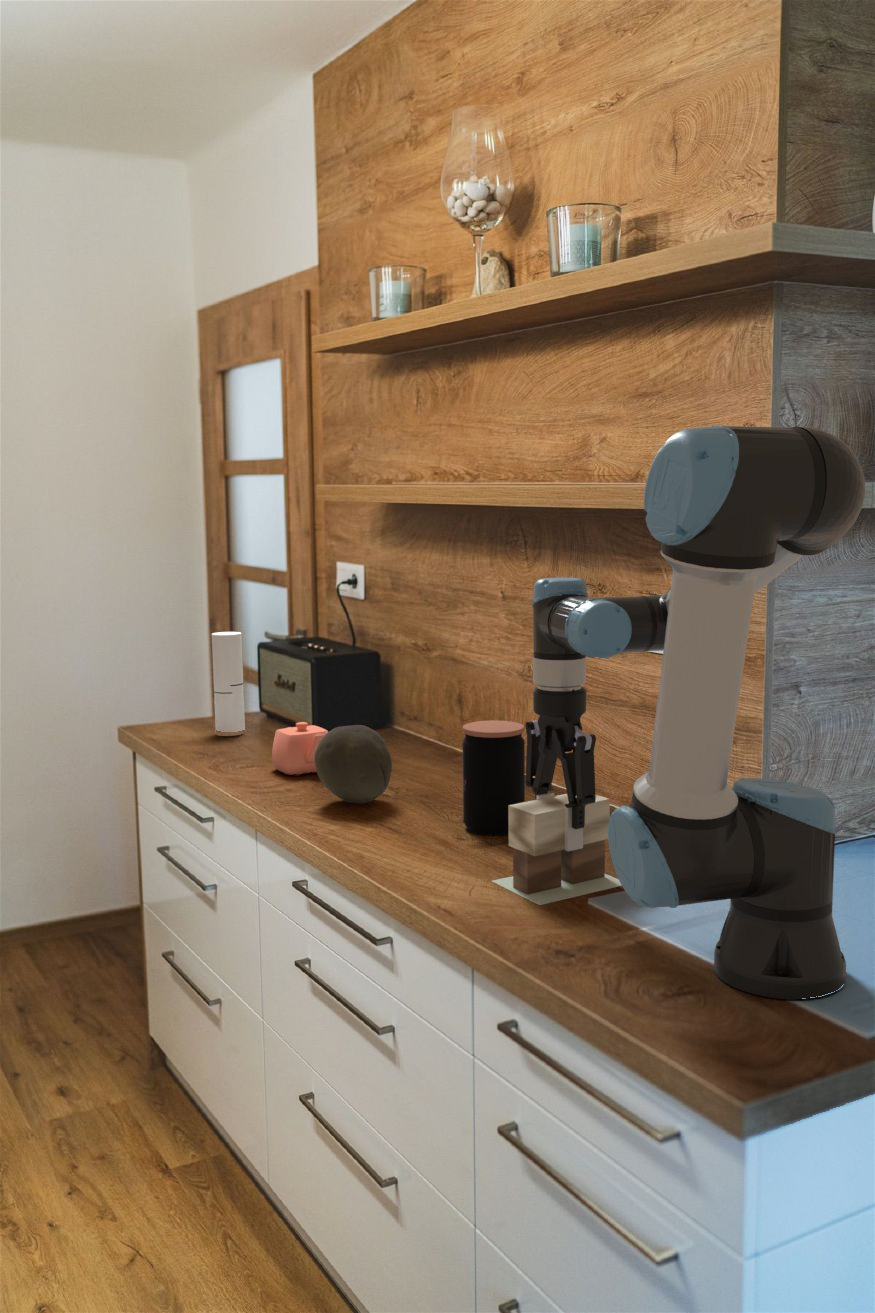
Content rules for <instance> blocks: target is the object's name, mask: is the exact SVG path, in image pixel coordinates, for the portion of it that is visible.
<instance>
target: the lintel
mask: <svg viewBox="0 0 875 1313" xmlns="http://www.w3.org/2000/svg"><path fill="white" fill-rule="evenodd" d="M576 798H577V795H576ZM610 801H611V800H610V798H608V797H605V796H602V795H598V794H596V801H595V803H591V804H587V805H586V806H585V825H584V828H583V845H585V844H589V843H593V842H597V841H602V840H605V841H606V840H608V824H609V819H610V816H611V814H610V812H611V811H610V808H611V807H610V804H611V802H610ZM568 803H569V801H568V796H567V793H564V794H557V795H554V796H553V797H548V798H543V799H538V800H535V799H534V800H528V801H525V802H523V803H518V804H513V805H508V823H509V834H508V847H511V848H512V849H513V848H515V849H518V850H520V851H523V852H525V853H528V854H530V855H533V856H538V855H542V854H547V853H551V852H555V851H559V850H564V849H565V804H568Z"/></svg>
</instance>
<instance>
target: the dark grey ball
mask: <svg viewBox="0 0 875 1313" xmlns="http://www.w3.org/2000/svg"><path fill="white" fill-rule="evenodd" d="M392 764H393V762H392V756H391V753H390V750H389V748H388V746H387V744H386V741H385V740H384V738H383V737H382V736H381V735H380V734H379V732H377V731H376V730H374V729H373V728H370V727H369V726H366V725H362V724H354V725H352V724H351V725H343V726H337V727H334V728H333V729H331V730H330V731H328V733H327V734H326V735H325V736H324V737H323V738H322V739H321V741H320V742H319V745H318V748H317V750H316V752H315V766H316V770H317V772H316V775H317V776H318V778H319V780H320V782H321V783H322V784H323V786H324V787H325V788H326V789H327V790H328V791H330V793H332V794H333V795H334V796H336V797H338V798H339V799H340V800H343V801H345V802H347V803H348V802H349V803H351V804H360V805H363V804H364V805H365V804H367V803H370V802H373V801H374V800H375V799H378V798H379V797H380V796H382V794H384V793H385V791H386V790H387V788H388V786H389V784H390V779H391V774H392V769H393V765H392Z"/></svg>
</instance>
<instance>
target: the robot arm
mask: <svg viewBox="0 0 875 1313" xmlns="http://www.w3.org/2000/svg"><path fill="white" fill-rule="evenodd" d="M863 471H864V470H863V467H862V464H861V463H860V461H859V459H858V457H857V455H856V454H855V452H854V451H853V450H852V449H851V448H850V446H849V445H847V444H846V443H845V442H844V440H841V439H840V438H839V437H838V436H836V435H835V434H833V433H830V432H827V431H826V430H822V429H819V428H815V427H810V426H793V427H785V426H784V427H780V426H779V427H777V426H736V425H734V426H733V425H718V424H714V425H712V426H704V427H703V426H702V427H691V428H685V429H681V430H679V431H678V432H675V433H673V435H671V436H670V437H669V438H668V439H667V440H666V441H665V443H664V444H663V445H661V447H660V449H659V450H658V451H657V453H656V455H655V457H653V461H652V463H651V464H650V468H649V471H648V474H647V477H646V482H645V488H644V495H643V508H644V509H643V510H644V511H645V512H646V516H645V522H646V527H647V529H648V530H649V533H650V534H651V536H652V538H654V539H655V540H656V541H657V542H660V543H661V547H660V555H661V556H662V557H663V559H664V560H665V561H666V562H667V563H668V564H669V566H670V567H671V568H672V578H671V584H670V589H668V590H667V591H666V592H665V593H664V594H656V595H654V594H653V595H638V596H637V595H636V596H616V597H615V596H612V597H589V594H588V590H587V589H588V588H587V583H586V581H585V580H584V579H583V578H580V577H545V578H540V579H538V580H537V581H536V582H535V583H534V586H533V600H532V603H531V606H532V610H533V611H532V614H533V615H532V618H533V619H532V622H533V623H532V624H533V628H532V629H533V630H532V632H533V640H532V641H533V656H532V657H533V658H532V662H533V663H532V667H533V668H532V682H533V684H534V685H535V686H536V687H535V688H534V689H533V690H532V693H533V698H532V699H533V700H532V701H533V706H532V707H533V712H534V714H536V715H538V719H537V720H532V721H531V720H530V721H526V722H525V726H524V727H525V731H526V741H527V742H526V757H525V758H526V761H525V786H526V787H528V788H531V789H532V792H533V793H534V795H535V796H534V800H538V799H543V798H548V797H553V796H555V793H553V791H555V788H554V786H552V783H553V779H554V775H555V769H556V767H557V766H556V765H557V761H558V760H559V761H560V763H561V767H562V768H561V769H562V773H563V774H562V775H563V779H564V785H565V789H566V790H565V791H566V794H567V796H568V801H569V803H568V804H565V850H566V851H572V850H577V849H582V848H583V828H584V825H585V806H586V805H587V804H591V803H595V801H596V795H597V794H596V773H595V770H596V769H595V746H596V741H597V737H596V735H595V734H594V733H592V734H587V733H585V731H583V726H582V722H581V719H582V716H583V715H584V714H585V713H586V712H587V689H586V688H585V687H584V685H586V683H587V658H592V659H596V658H599V659H610V658H613V657H615V656H616V655H618V654H624V653H642V652H657V651H658V652H659V651H662V652H663V653H662V659H661V660H662V661H661V668H660V669H661V670H660V675H659V676H660V677H659V687H658V694H657V702H656V710H655V720H654V726H653V733H652V734H653V735H652V744H651V752H650V758H649V759H650V760H649V769H648V771H647V772H645V773H644V774H642V775H641V776H639V777H638V778H637V779H636V780H635V781H634V784H633V787H632V788H633V789H632V798H631V804H630V805H623V804H622V805H621V806H619V807H617V808H615V809H614V810H613V812H612V813H611V814H610V819H609V824H608V839H607V840H608V842H607V843H608V848H609V853H610V857H611V861H612V864H613V868H614V870H615V874H616V876H617V877H616V878H617V879H619V881H620V883H621V885H622V886H621V887H622V888H623V891H624V892H625V893H626V894H627V896H628V897H629V898H630V899H631V901H633V902H634V903H636V904H637V905H638V906H640V907H643V908H647V909H651V908H653V909H654V908H667V907H668V908H671V909H674V908H677V907H678V906H686V905H692V904H693V905H694V904H701V903H708V902H717V901H725V900H730V903H729V904H730V905H729V910H728V913H727V915H726V918H725V921H724V924H723V925H722V926H723V927H722V929H721V933H720V935H719V936H720V937H719V938H718V939H719V940H718V941H717V943H716V945H715V947H714V952H713V953H714V955H713V957H714V958H713V959H714V960H713V969H714V972H715V974H716V976H717V977H718V978H719V979H720V980H721V981H723V982H724V983H726V984H727V985H729V986H731V987H733V988H735V989H738V990H740V991H742V992H745V993H749V994H752V995H756V996H760V997H765V998H770V999H778V1000H790V1001H791V1000H795V999H802V998H810V997H816V996H817V997H818V996H822V995H825V994H828V993H831V992H834V991H836V990H838V989H839V988H840V987H841V986H842V985H843V984H844V983H845V984H846V982H845V980H846V977H847V961H846V959H845V956H844V953H843V952H842V951H841V946H840V941H839V938H838V934H837V929H836V926H835V925H836V924H835V922H834V918H833V904H834V903H833V902H834V901H833V900H834V899H833V898H834V875H835V873H834V872H835V871H834V870H835V851H836V850H835V848H836V847H835V846H836V845H835V844H836V835H837V834H838V830H837V822H836V807H835V803H834V801H833V799H832V798H831V797H830V796H828V794H827V793H824V792H823V791H821V790H818V789H816V788H814V787H810V786H806V785H803V784H798V783H794V782H790V781H789V782H788V781H785V780H778V779H770V778H758V777H756V778H755V777H746V778H745V777H743V778H739V779H737V780H735V781H734V783H733V786H732V787H731V786H730V785H729V784H728V779H729V778H728V777H729V770H730V763H731V758H732V751H733V750H732V749H733V743H734V742H733V741H734V738H735V737H734V735H735V728H736V723H737V722H736V721H737V715H738V708H739V701H740V694H741V686H742V680H743V674H744V669H745V668H744V666H745V659H746V653H747V646H748V640H749V638H748V637H749V633H750V625H751V620H752V611H753V606H754V599H755V594H757V593H758V592H760V590H762V589H763V588H765V587H766V586H767V585H769V584H770V583H771V582H772V581H773V580H774V579H776V578H777V577H778V576H780V575H781V574H783V572H785V571H786V570H787V569H789V568H790V567H791V566H792V565H794V564H795V563H796V562H798V561H799V560H800V559H802V557H814V556H817V555H820V554H821V553H824V552H825V551H826V550H828V549H829V548H831V547H832V546H833V545H834V544H835V543H837V542H838V541H840V539H841V538H843V537H844V536H845V535H846V534H847V532H849V531H850V529H851V528H852V526H854V524H856V523H855V522H856V521H857V519H858V518H859V515H860V513H861V512H862V509H863V506H864V502H865V496H866V478H865V475H864V472H863ZM576 795H577V798H576ZM846 981H847V980H846ZM795 1001H796V1000H795Z"/></svg>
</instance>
